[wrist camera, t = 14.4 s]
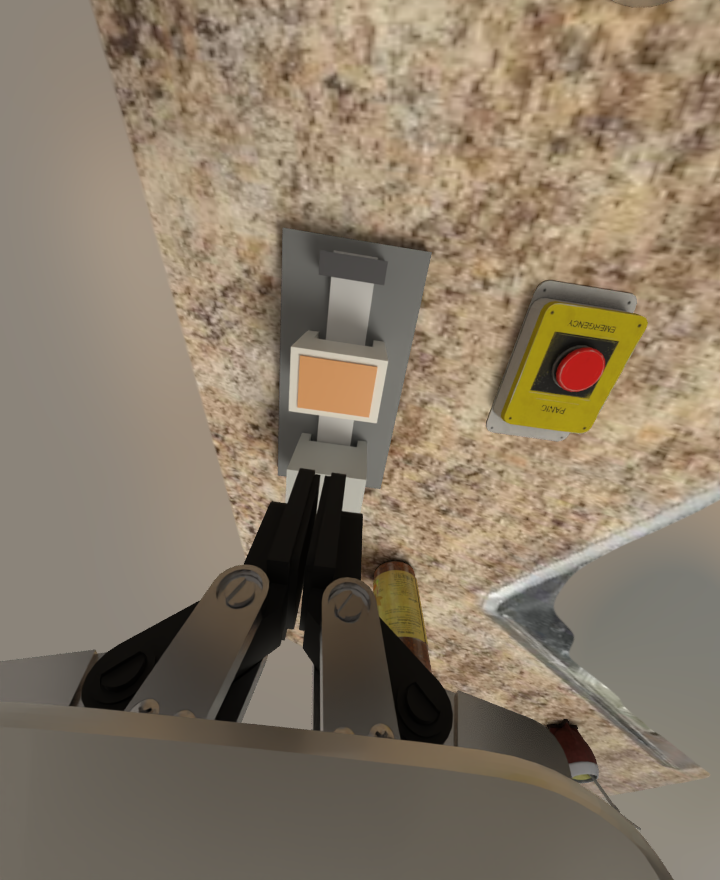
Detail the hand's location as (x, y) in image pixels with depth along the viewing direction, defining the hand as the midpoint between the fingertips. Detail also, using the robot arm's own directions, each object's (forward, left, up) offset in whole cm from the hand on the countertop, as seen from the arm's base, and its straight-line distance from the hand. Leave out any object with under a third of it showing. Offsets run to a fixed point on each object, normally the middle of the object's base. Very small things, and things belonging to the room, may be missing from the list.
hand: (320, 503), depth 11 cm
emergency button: (-2, +20, -23) cm, 30 cm away
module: (0, -1, -21) cm, 21 cm away
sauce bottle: (+30, +10, -22) cm, 39 cm away
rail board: (+2, -1, -22) cm, 22 cm away
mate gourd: (+71, +55, -22) cm, 93 cm away
